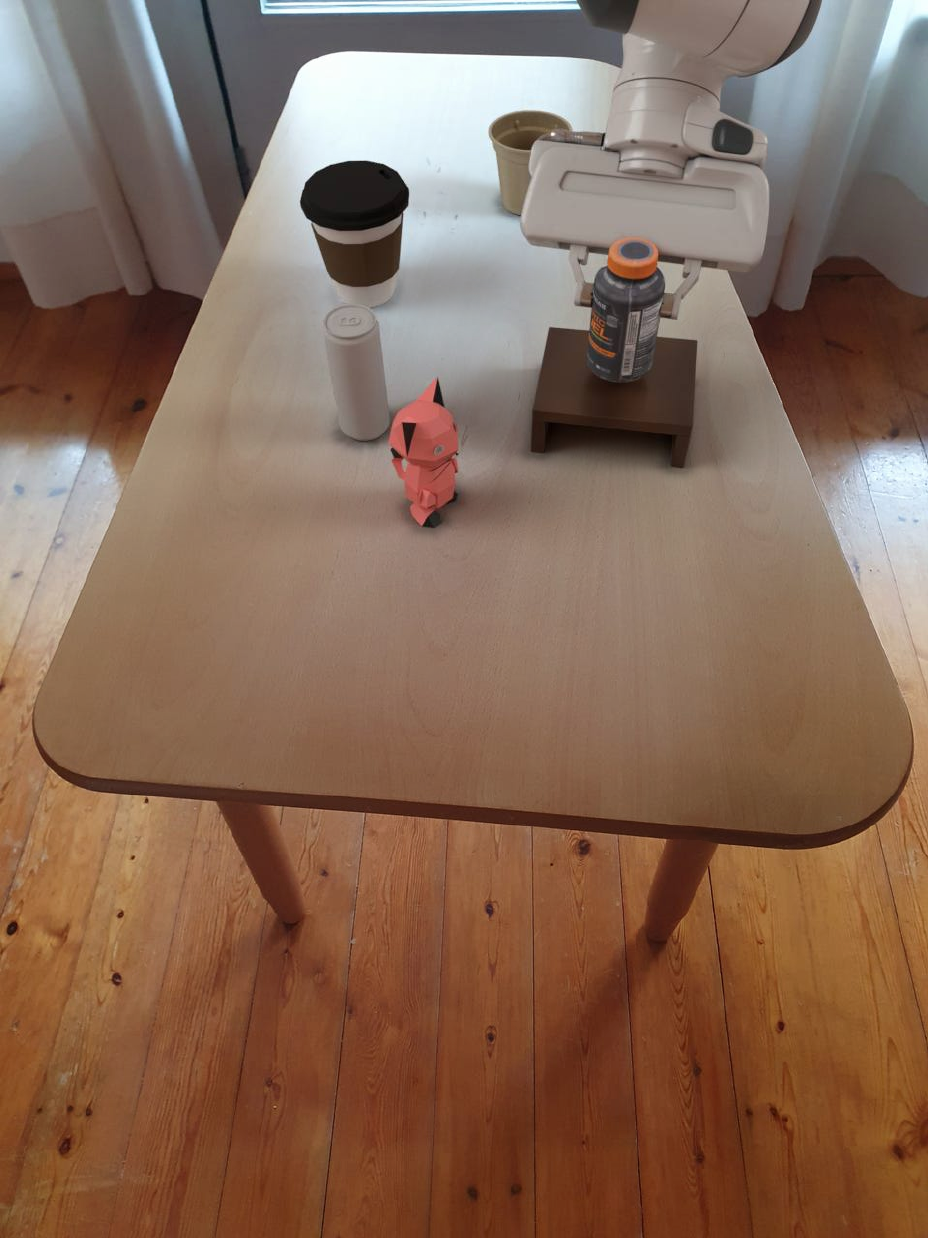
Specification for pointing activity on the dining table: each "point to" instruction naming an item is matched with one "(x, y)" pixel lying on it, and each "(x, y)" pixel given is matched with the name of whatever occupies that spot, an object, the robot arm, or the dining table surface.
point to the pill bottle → (625, 311)
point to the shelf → (616, 392)
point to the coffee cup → (358, 227)
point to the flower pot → (519, 150)
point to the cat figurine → (426, 454)
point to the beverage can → (357, 371)
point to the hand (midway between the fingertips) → (625, 311)
